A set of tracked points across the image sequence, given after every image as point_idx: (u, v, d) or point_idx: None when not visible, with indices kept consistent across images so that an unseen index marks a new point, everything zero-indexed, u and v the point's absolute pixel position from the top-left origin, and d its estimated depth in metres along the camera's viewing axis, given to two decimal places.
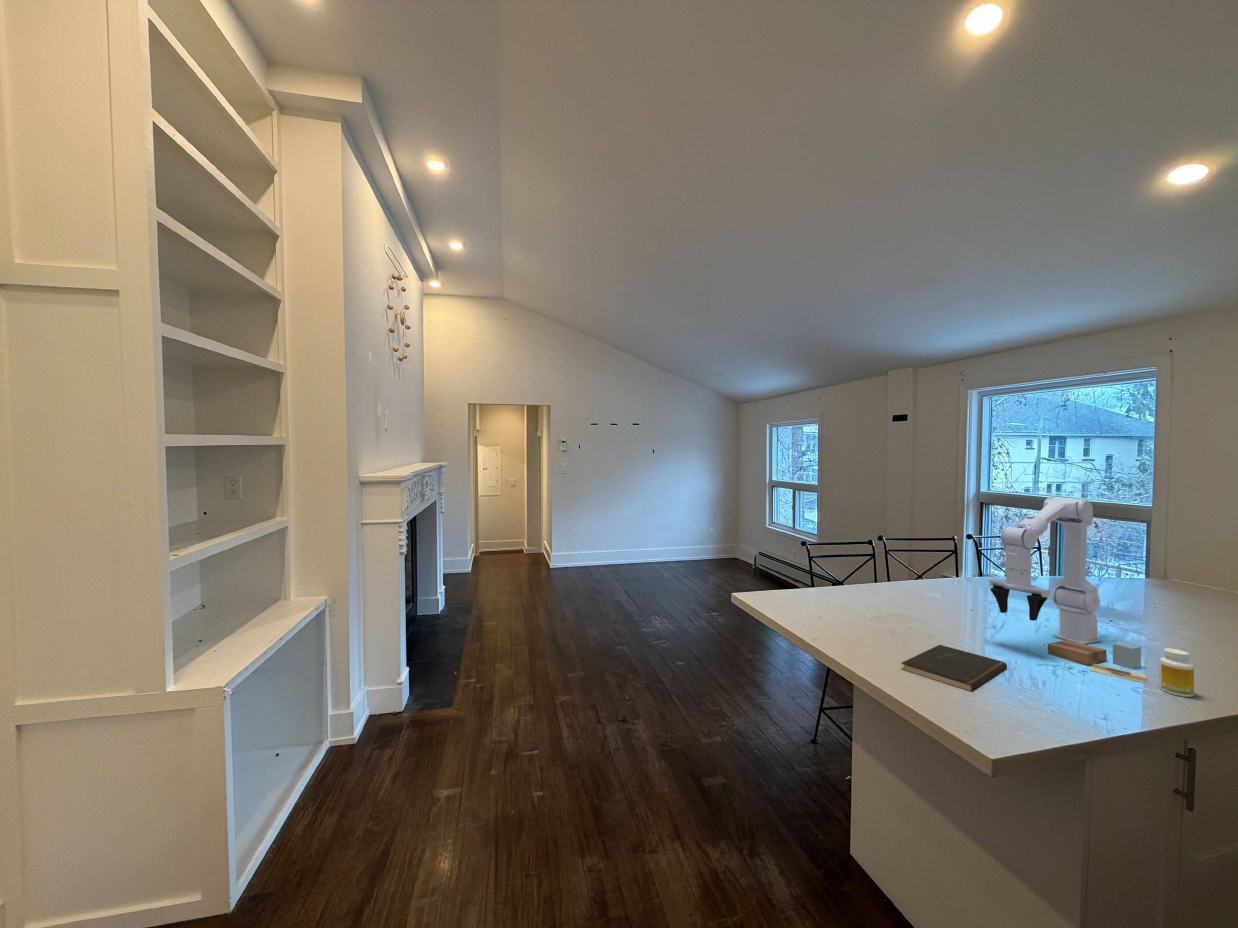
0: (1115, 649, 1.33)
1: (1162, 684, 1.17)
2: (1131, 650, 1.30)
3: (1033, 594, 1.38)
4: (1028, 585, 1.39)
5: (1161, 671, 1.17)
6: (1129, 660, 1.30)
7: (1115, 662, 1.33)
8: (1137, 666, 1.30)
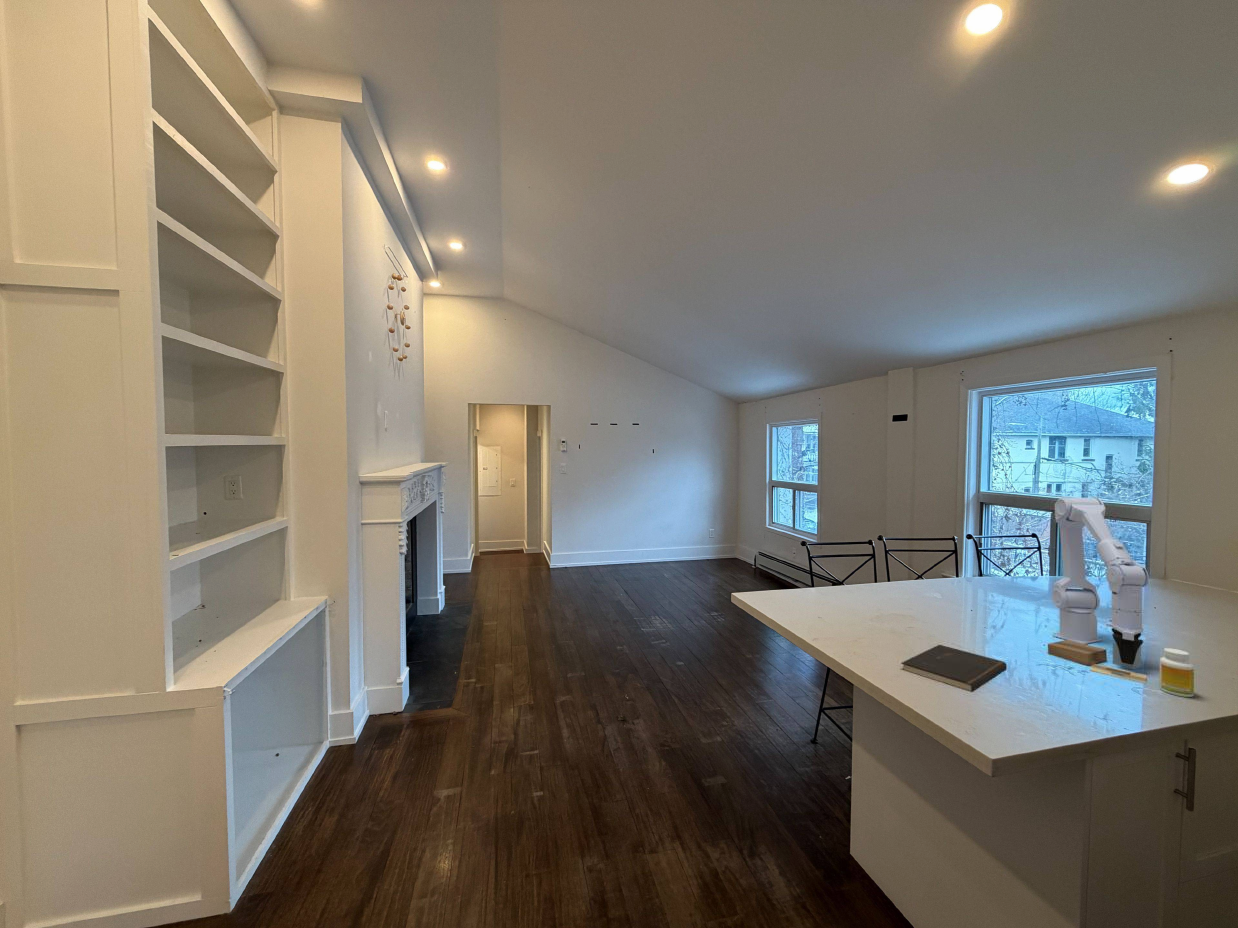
0: (1115, 649, 1.33)
1: (1162, 684, 1.17)
2: None
3: (1122, 635, 1.29)
4: (1125, 626, 1.30)
5: (1161, 671, 1.17)
6: None
7: (1115, 662, 1.33)
8: (1137, 666, 1.30)
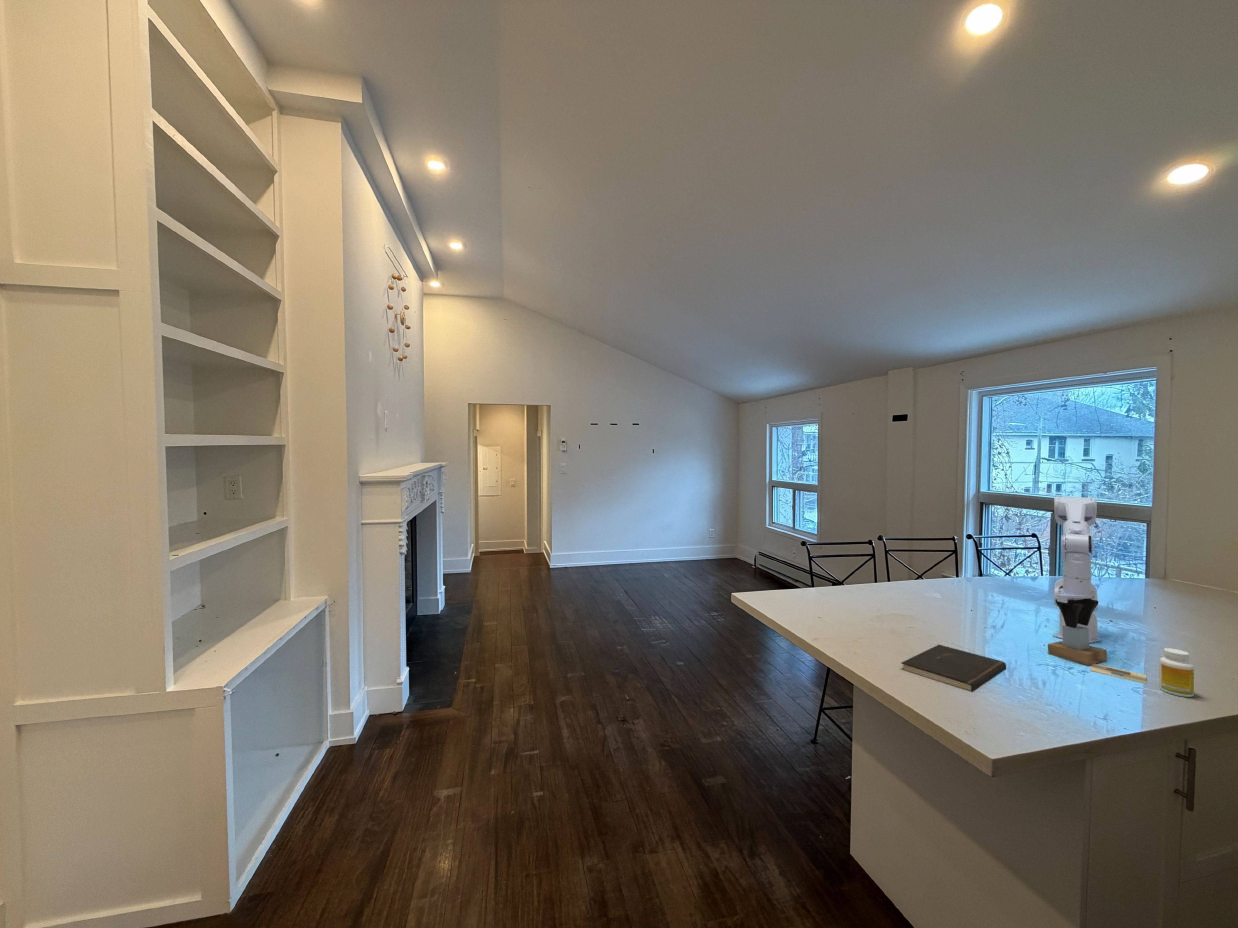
0: (1064, 631, 1.38)
1: (1162, 684, 1.17)
2: (1078, 631, 1.35)
3: None
4: (1069, 592, 1.37)
5: (1161, 671, 1.17)
6: (1077, 641, 1.35)
7: (1065, 643, 1.38)
8: (1085, 647, 1.35)
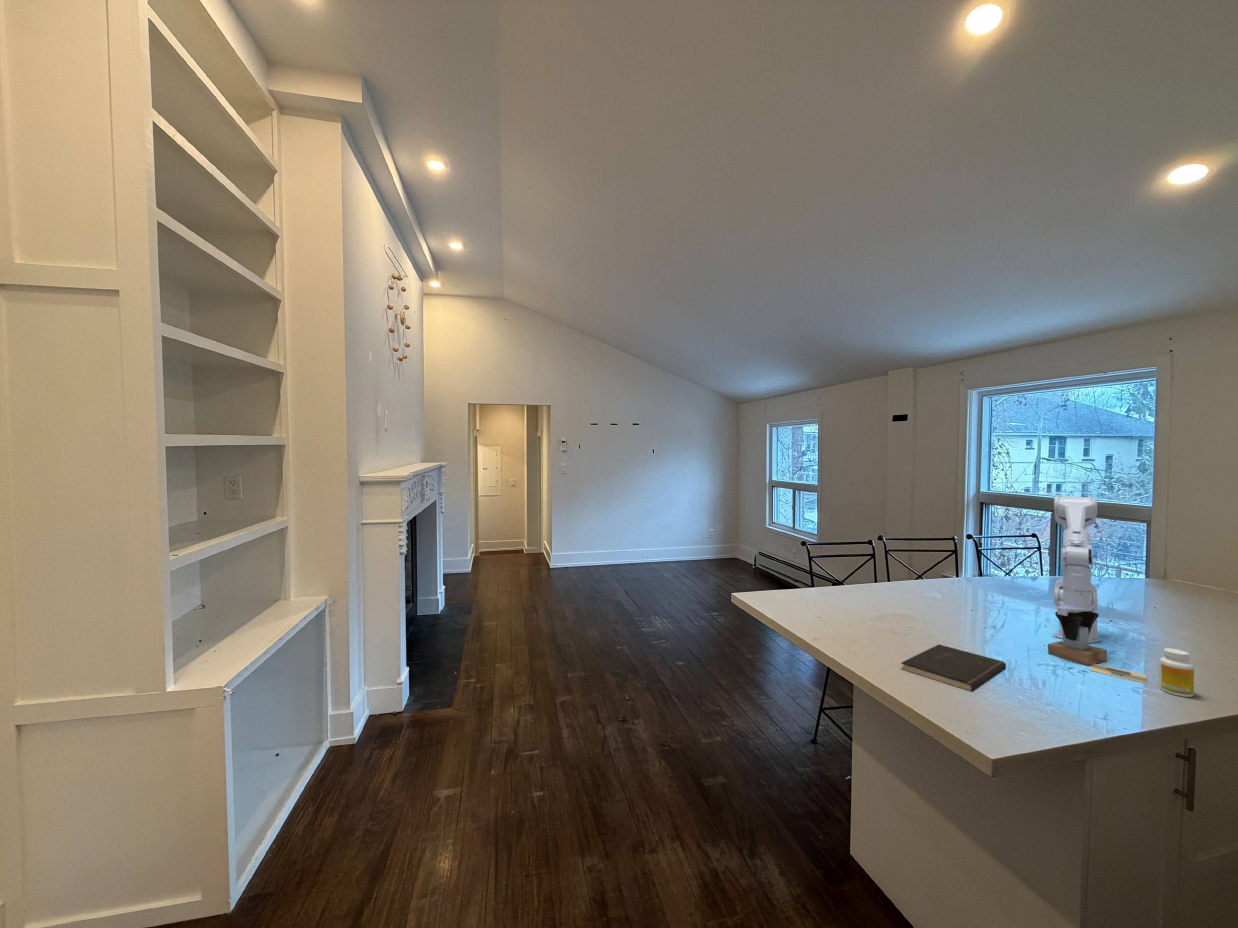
0: None
1: (1162, 684, 1.17)
2: (1078, 631, 1.35)
3: None
4: (1069, 604, 1.37)
5: (1161, 671, 1.17)
6: (1077, 640, 1.35)
7: (1065, 643, 1.38)
8: (1085, 646, 1.36)
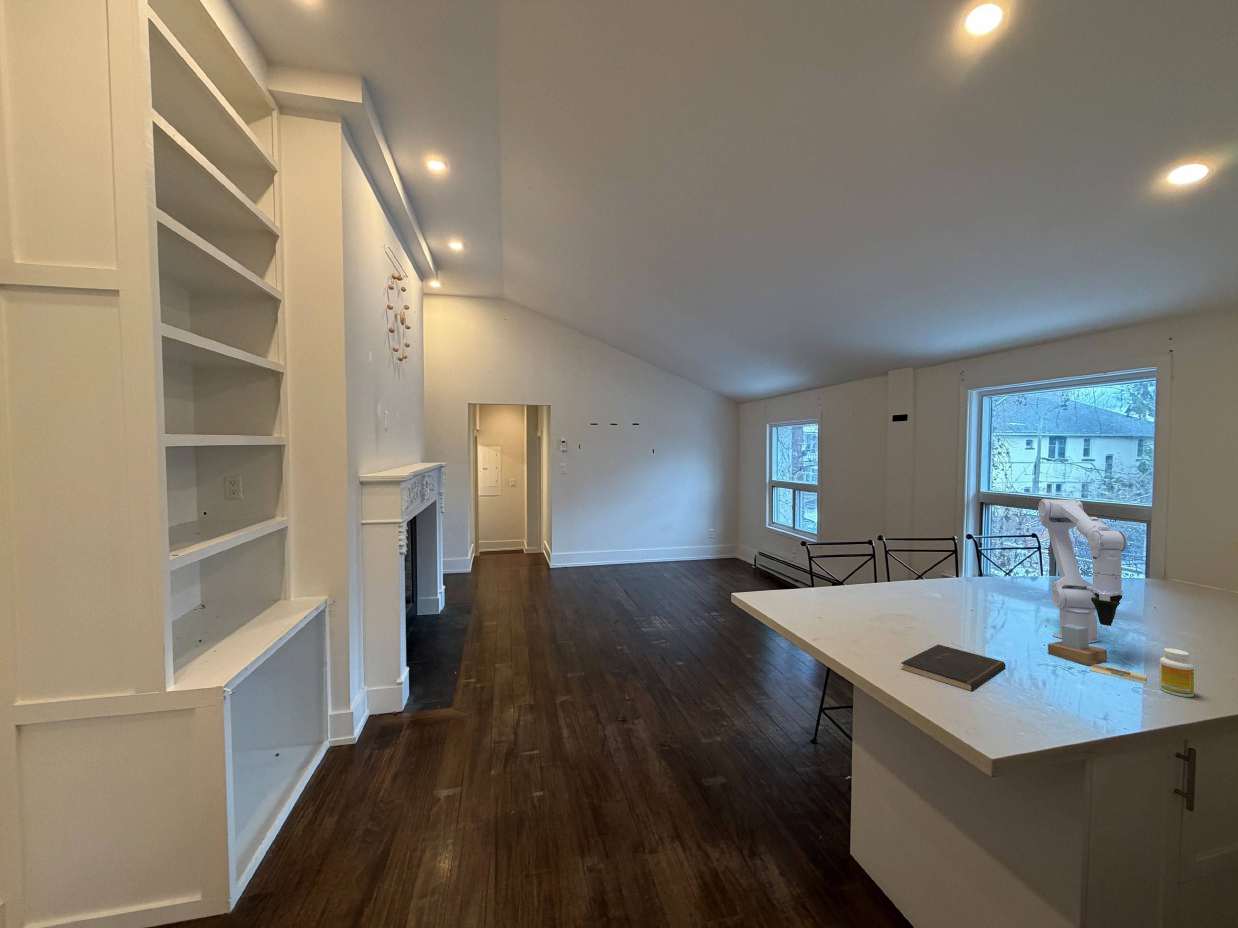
0: (1063, 631, 1.38)
1: (1162, 684, 1.17)
2: (1077, 631, 1.35)
3: None
4: (1104, 589, 1.36)
5: (1161, 671, 1.17)
6: (1076, 640, 1.35)
7: (1064, 643, 1.38)
8: (1084, 646, 1.36)
